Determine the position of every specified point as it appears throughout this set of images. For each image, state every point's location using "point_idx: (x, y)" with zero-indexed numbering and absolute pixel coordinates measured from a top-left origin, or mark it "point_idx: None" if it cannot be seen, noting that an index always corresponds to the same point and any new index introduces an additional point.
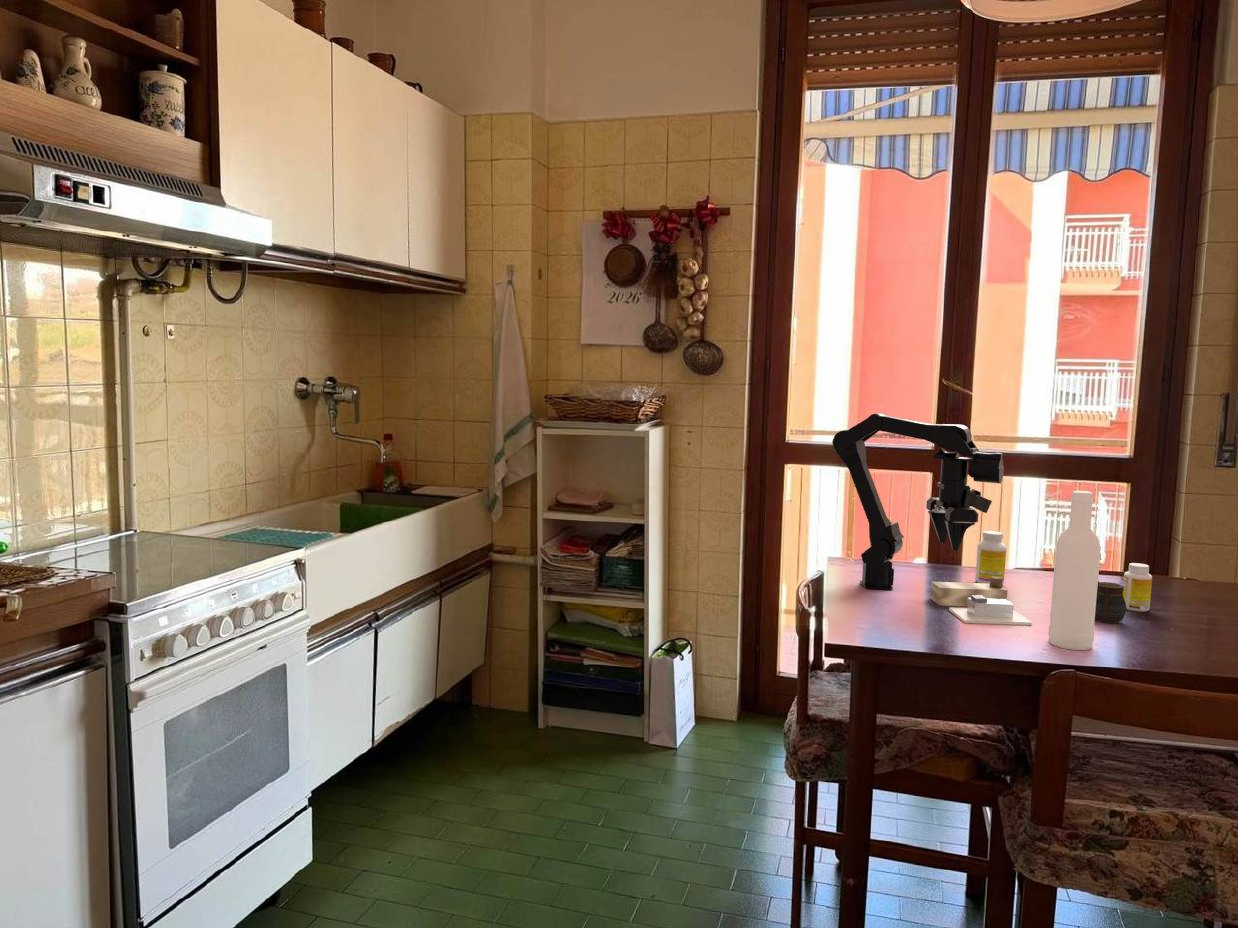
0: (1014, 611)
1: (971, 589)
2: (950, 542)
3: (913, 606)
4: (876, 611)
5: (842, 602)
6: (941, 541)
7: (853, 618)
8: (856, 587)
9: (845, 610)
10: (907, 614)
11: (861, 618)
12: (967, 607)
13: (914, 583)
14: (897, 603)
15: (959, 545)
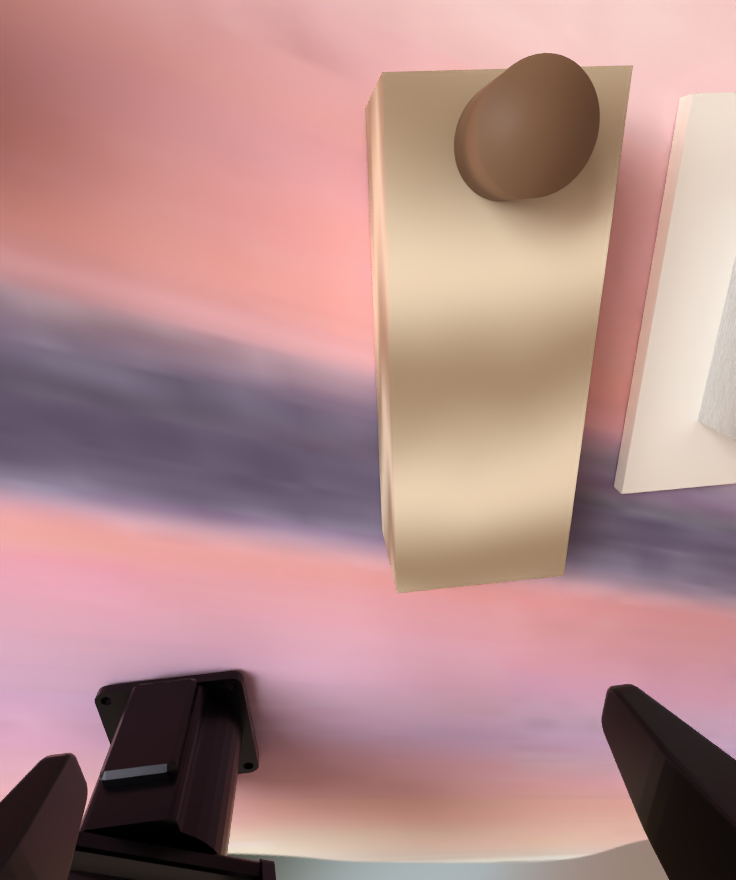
0: (732, 104)
1: (587, 385)
2: (662, 856)
3: (546, 620)
4: None
5: (500, 821)
6: (82, 799)
7: None
8: None
9: (608, 813)
10: (671, 654)
11: None
12: (714, 428)
13: (5, 552)
14: (498, 670)
15: (702, 738)
